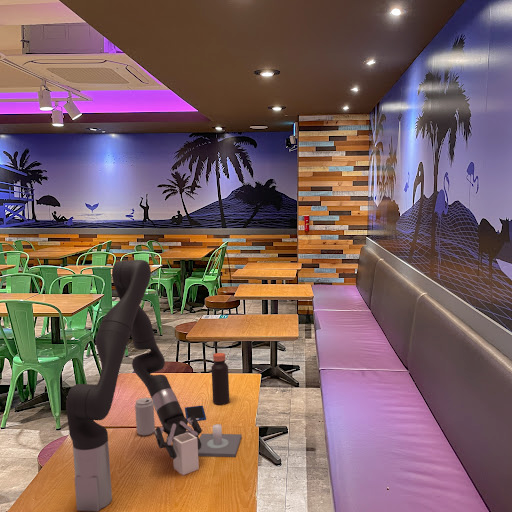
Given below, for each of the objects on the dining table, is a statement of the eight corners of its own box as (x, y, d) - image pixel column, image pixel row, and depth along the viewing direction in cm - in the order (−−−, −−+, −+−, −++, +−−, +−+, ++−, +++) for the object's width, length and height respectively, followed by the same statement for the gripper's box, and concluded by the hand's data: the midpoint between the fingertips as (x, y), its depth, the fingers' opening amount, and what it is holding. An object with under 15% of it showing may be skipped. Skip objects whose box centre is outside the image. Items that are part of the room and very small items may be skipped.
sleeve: (198, 469, 159) (197, 437, 158) (182, 475, 155) (181, 443, 154) (189, 462, 163) (187, 431, 162) (173, 468, 160) (172, 437, 159)
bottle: (214, 406, 207) (212, 357, 205) (211, 400, 214) (209, 353, 212) (231, 404, 209) (229, 355, 207) (227, 398, 215) (225, 351, 213)
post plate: (235, 456, 165) (234, 436, 165) (192, 455, 167) (191, 435, 166) (241, 437, 179) (240, 417, 178) (202, 436, 181) (201, 417, 180)
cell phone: (187, 423, 193) (186, 421, 193) (184, 409, 207) (184, 407, 207) (206, 420, 194) (206, 419, 194) (202, 406, 208) (202, 405, 208)
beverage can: (150, 437, 182) (148, 404, 180) (133, 436, 183) (131, 403, 182) (157, 429, 188) (156, 397, 187) (141, 428, 189) (139, 396, 188)
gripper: (150, 406, 159) (170, 456, 151) (190, 395, 167) (211, 440, 160) (143, 418, 163) (162, 466, 156) (182, 406, 172) (202, 451, 164)
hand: (187, 453), depth 158 cm, fingers open, 8 cm apart
